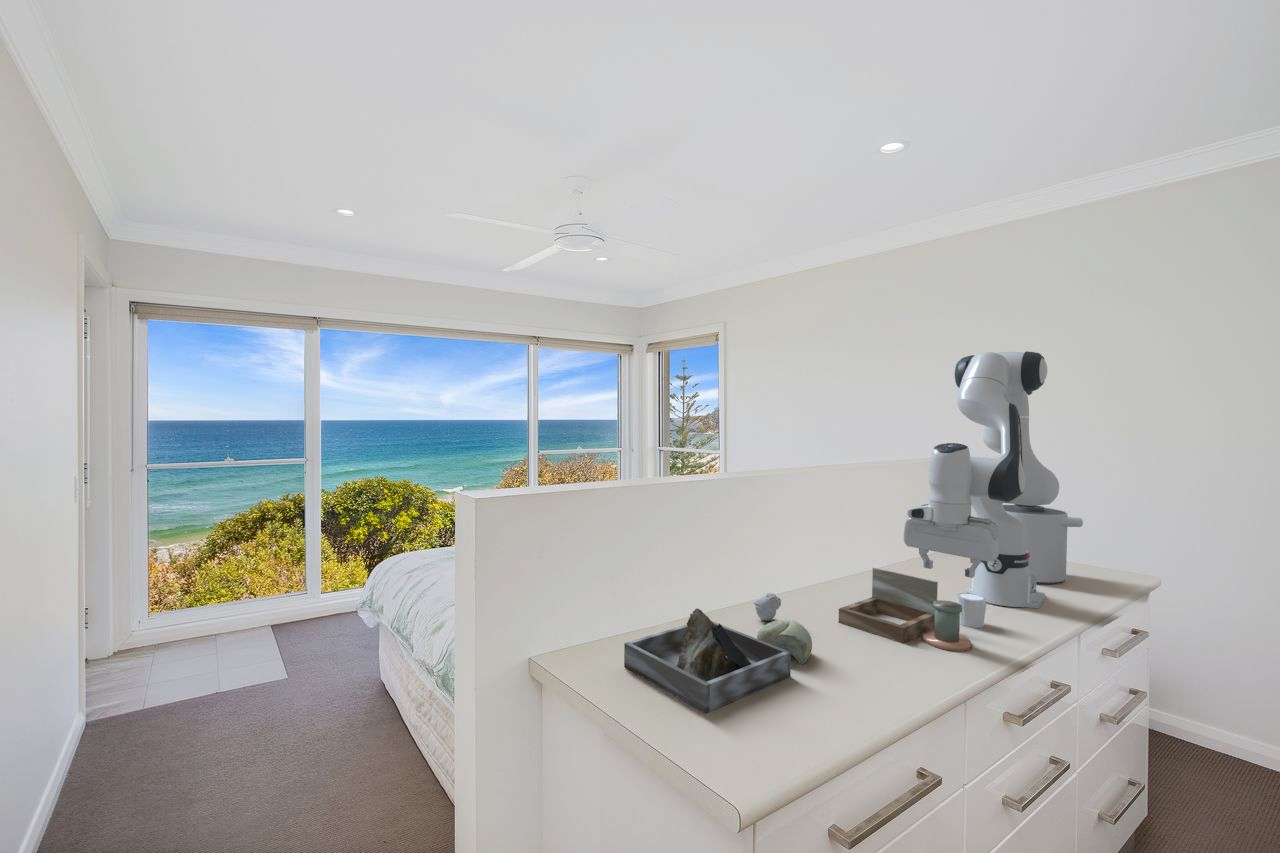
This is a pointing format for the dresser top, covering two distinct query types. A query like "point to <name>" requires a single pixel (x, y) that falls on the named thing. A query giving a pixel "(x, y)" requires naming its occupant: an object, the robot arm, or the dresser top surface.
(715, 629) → the mineral specimen
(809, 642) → the seashell
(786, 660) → the display tray
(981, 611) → the shot glass
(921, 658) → the dresser top surface
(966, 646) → the pink round part
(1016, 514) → the grey cooking pot
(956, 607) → the plant pot
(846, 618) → the frame
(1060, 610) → the dresser top surface
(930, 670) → the dresser top surface
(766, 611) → the grey rock chunk
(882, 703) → the dresser top surface
